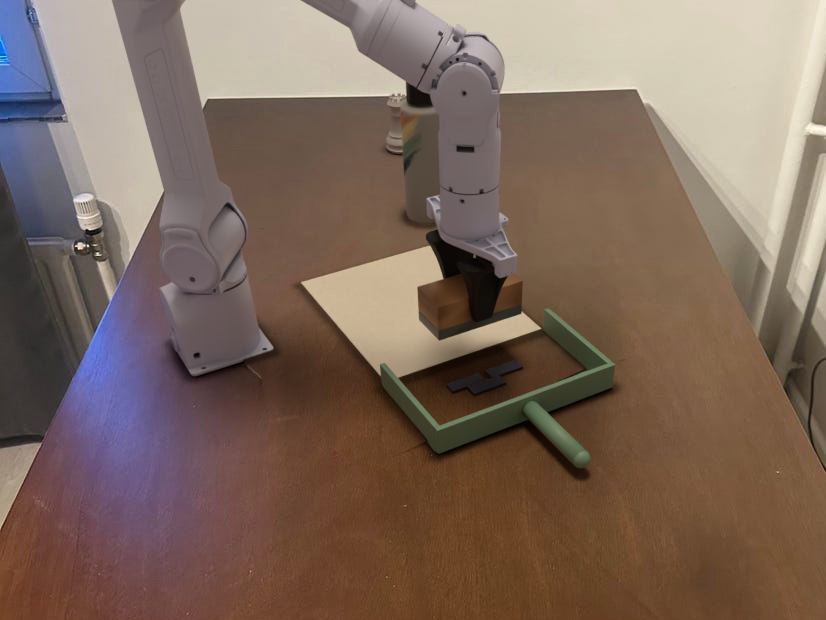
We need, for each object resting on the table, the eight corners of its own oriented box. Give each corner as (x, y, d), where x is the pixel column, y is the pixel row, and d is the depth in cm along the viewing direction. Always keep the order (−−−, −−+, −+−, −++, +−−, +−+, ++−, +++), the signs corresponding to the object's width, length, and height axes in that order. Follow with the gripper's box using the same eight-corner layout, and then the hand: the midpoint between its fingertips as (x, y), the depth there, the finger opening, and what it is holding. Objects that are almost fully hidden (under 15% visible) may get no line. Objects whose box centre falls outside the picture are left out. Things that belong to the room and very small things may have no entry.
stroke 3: (491, 381, 96) (491, 377, 95) (484, 374, 97) (484, 370, 96) (523, 370, 97) (523, 366, 97) (515, 363, 98) (515, 359, 98)
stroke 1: (453, 395, 94) (453, 391, 94) (446, 388, 95) (446, 383, 94) (485, 384, 95) (485, 379, 95) (478, 376, 96) (478, 372, 96)
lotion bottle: (450, 208, 125) (446, 56, 111) (445, 227, 121) (440, 72, 107) (410, 206, 125) (401, 54, 111) (403, 225, 121) (393, 71, 107)
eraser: (439, 341, 91) (437, 307, 88) (418, 320, 94) (416, 286, 91) (521, 314, 95) (523, 280, 92) (499, 294, 97) (500, 261, 95)
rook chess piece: (382, 146, 140) (378, 93, 134) (408, 141, 141) (405, 88, 136) (392, 157, 137) (388, 103, 131) (419, 151, 138) (416, 98, 133)
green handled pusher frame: (382, 388, 95) (379, 364, 93) (547, 331, 103) (548, 307, 101) (490, 517, 81) (490, 492, 79) (671, 440, 89) (676, 415, 87)
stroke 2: (474, 398, 94) (474, 393, 93) (467, 390, 95) (467, 386, 94) (506, 386, 95) (506, 382, 95) (499, 379, 96) (499, 374, 96)
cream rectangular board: (385, 385, 96) (385, 381, 95) (301, 285, 110) (300, 282, 110) (541, 332, 103) (541, 328, 102) (442, 245, 117) (442, 241, 117)
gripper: (547, 202, 81) (540, 329, 90) (468, 145, 90) (468, 266, 99) (480, 220, 78) (480, 349, 88) (405, 160, 87) (412, 283, 97)
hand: (470, 306), depth 93 cm, fingers closed on eraser, 4 cm apart
